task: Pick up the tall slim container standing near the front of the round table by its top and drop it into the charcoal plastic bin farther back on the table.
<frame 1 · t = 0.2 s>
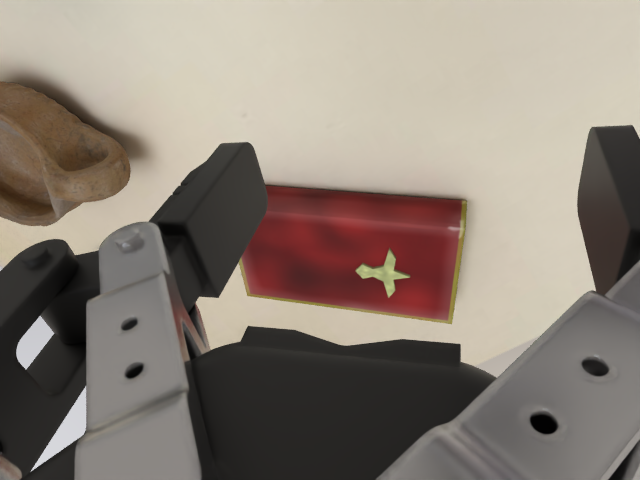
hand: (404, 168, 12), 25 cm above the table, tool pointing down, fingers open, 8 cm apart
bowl: (69, 131, 48), on the table
hardcover book: (350, 237, 47), on the table
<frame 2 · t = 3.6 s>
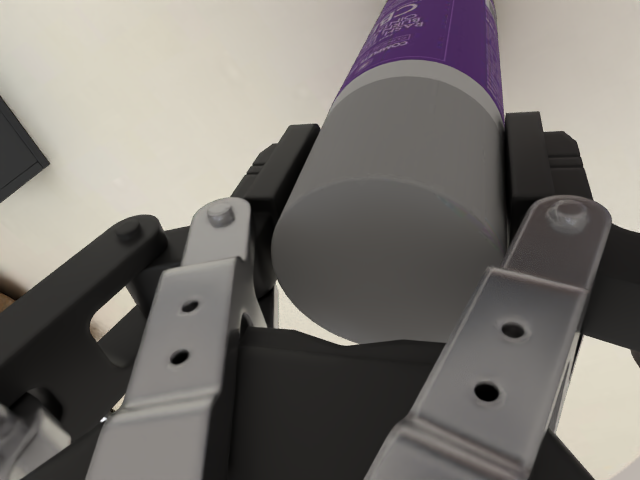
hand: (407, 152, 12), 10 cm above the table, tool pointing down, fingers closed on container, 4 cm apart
container: (437, 26, 20), on the table, touching gripper
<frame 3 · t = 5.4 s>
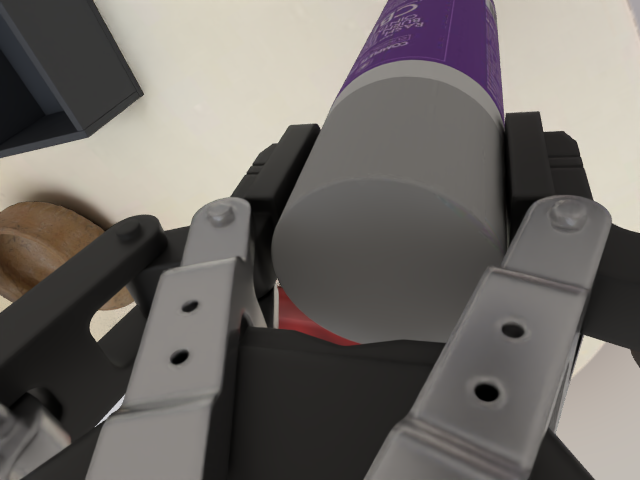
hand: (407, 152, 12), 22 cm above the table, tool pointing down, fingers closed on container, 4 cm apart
bin: (55, 43, 39), on the table
container: (437, 26, 20), point 11 cm above the table, touching gripper
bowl: (92, 234, 53), on the table
hardcover book: (342, 329, 53), on the table
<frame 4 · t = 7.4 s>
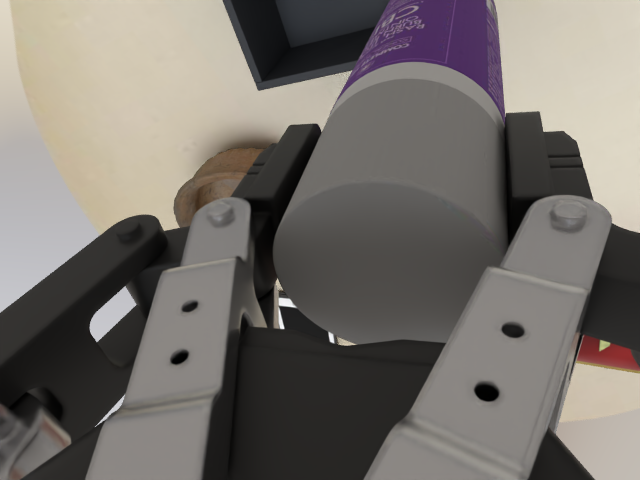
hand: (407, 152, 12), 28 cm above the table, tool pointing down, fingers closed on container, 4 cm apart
container: (438, 27, 20), point 17 cm above the table, touching gripper
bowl: (287, 187, 50), on the table
cell phone: (309, 329, 65), on the table
hardcover book: (554, 290, 50), on the table
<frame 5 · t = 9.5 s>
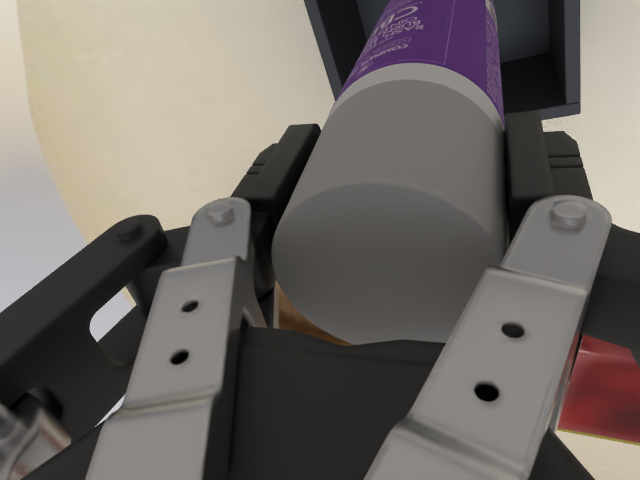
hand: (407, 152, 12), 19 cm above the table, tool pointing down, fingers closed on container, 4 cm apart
container: (437, 28, 20), point 9 cm above the table, touching gripper
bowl: (355, 248, 41), on the table
when the fingers open (15 cm above the table, at t = 11.2 s): container drops 4 cm, resting on bin.
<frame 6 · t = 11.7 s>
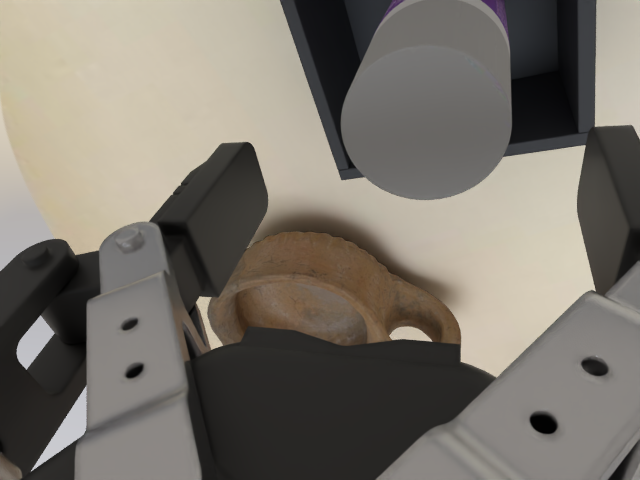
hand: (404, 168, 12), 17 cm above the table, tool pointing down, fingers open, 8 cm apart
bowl: (349, 271, 39), on the table
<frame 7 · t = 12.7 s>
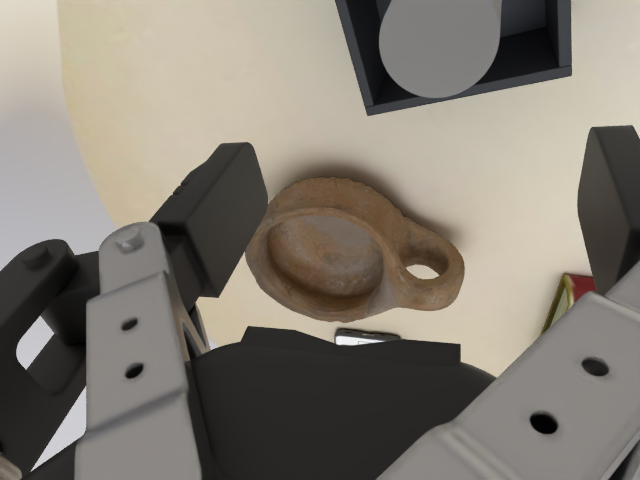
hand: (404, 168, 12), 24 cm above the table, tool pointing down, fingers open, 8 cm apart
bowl: (365, 218, 44), on the table
cell phone: (372, 368, 59), on the table
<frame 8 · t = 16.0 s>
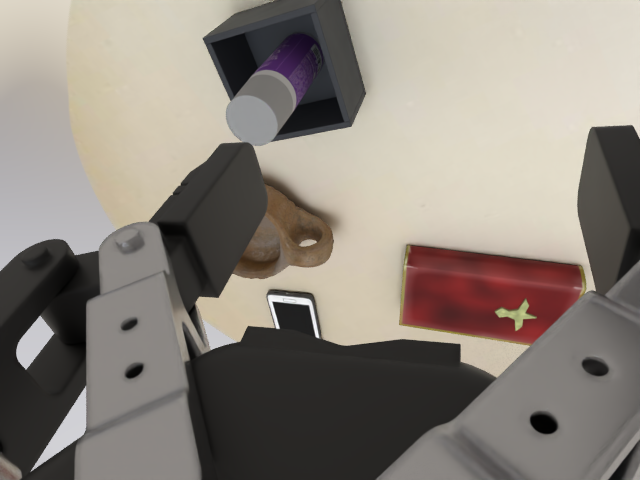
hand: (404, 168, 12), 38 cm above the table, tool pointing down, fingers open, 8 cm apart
bin: (301, 54, 50), on the table
container: (303, 54, 50), resting on bin
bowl: (276, 208, 65), on the table
cell phone: (297, 321, 79), on the table
hardcover book: (483, 284, 64), on the table
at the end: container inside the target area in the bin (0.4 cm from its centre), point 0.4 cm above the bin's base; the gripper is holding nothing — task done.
